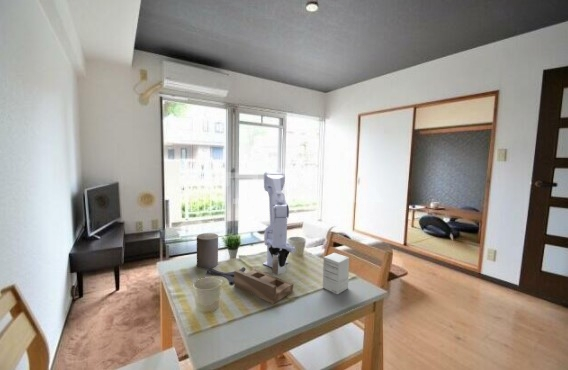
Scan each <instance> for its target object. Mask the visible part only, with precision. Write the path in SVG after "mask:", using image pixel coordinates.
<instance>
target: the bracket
mask: <svg viewBox="0 0 568 370" xmlns="http://www.w3.org/2000/svg"><path fill="white" fill-rule="evenodd" d="M238 270H239V271H242V272H244V273H245V271H246V267H244V266H243V267H241V268H240V269H238ZM206 274H207V275H215V276H216V275H217V276H222V277H224V278H226V279H227V281H228V284H229V285H231V284H232V285H234V271H229V272H224V271H219V270H216V269H213V268H207V270H206Z"/></svg>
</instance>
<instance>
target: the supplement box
mask: <svg viewBox="0 0 568 370" xmlns="http://www.w3.org/2000/svg"><path fill="white" fill-rule="evenodd" d="M322 264H323V266H322V267H323V269H322V270H323V271H322V288H323V289H325V290H327V291H330V292H331V293H333V294H336V295H340V294H341V293H342V292H344V291H346V290H347V289H349V271H350V257H348V256H346V255H342V254H339V253H337V252H332V253H331V254H328V255H326V256H323V263H322Z"/></svg>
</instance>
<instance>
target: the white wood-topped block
mask: <svg viewBox="0 0 568 370" xmlns="http://www.w3.org/2000/svg"><path fill="white" fill-rule="evenodd" d="M286 264H287V263H286V262H285V266H283V267H280V256H279V253H278V252H277V253H275V254H273V263H272V267H271V268H272V274H273V275H277V276H280V275H281V274H282V273H285V272H286V267H287V265H286Z"/></svg>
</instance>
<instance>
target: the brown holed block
mask: <svg viewBox="0 0 568 370" xmlns="http://www.w3.org/2000/svg"><path fill="white" fill-rule="evenodd" d="M239 270H240V269H236V270H234V271H233V272H234V277H233V278H234V284H233V285H234V286H235V287H236V288H238V289H241V290H242V291H245V292H247V293H248V294H252V295H253V296H255V297H257V298H259V299H261V300H264V301H266V302H268V303H270V304H272V305H273V304H275V303H277V302H279V301H281V299H284V298H285V297H286V296H288V295H289V294H291V293H294V283H293V282H289V281H286V280H284V279H282V278H280V277H276V276H274V275H271V274H268V273H266V272H263V271H262V270H259V269H257V268H255V269H253V270H250V271H248V272H245V271H244V272H242V271H239Z"/></svg>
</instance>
